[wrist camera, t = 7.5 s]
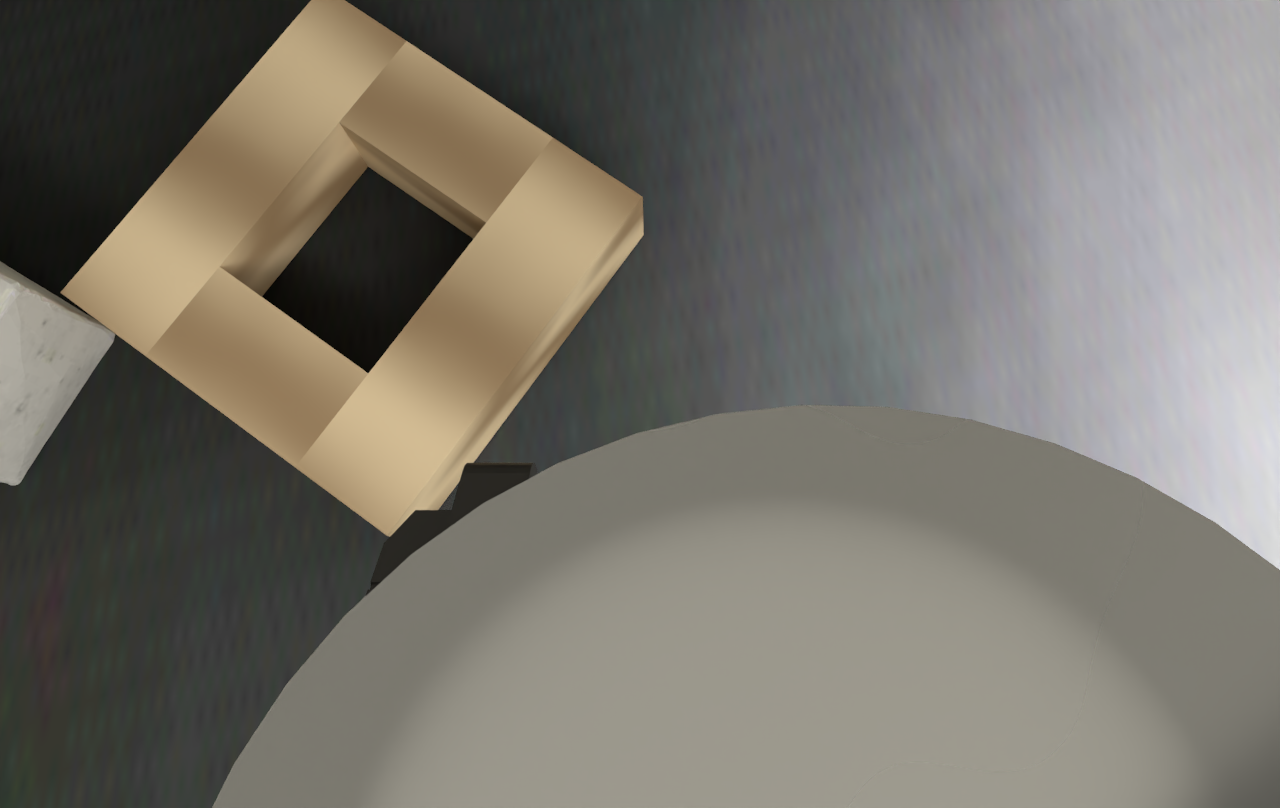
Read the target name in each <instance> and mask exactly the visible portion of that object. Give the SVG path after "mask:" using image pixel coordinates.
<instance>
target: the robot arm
mask: <svg viewBox="0 0 1280 808" xmlns="http://www.w3.org/2000/svg"><path fill="white" fill-rule="evenodd" d="M537 474H538V473H537V468H536V465H535V463H466V464H465V466H464V468H463V471H462V475H461V478H460V482H459V486H458V489H457V493H456V496H455V500H454V504H453V507H452V510H415V511H414V512H413V513H412V514H411V515H410V516H409V517H408V518H407V519H406V521H405V522H404V523H403V524H402V525H401V526H400V527H399V528H398V529H397V530H396V531H395V532H394V533H393V534H392V535H391V536H390V537H389V539H388V540H387V541H386V542H385V543H384V545H383V548H382V551H381V553H380V556H379V559H378V562H377V565H376V568H375V571H374V573H373V576H372V579H371V588H370V590H368V591H367V594H366V596H367V595H368V594H369V593H370V592H371V591H372V590H373V589H374V588H375V587H376V586H377V585H379V584H380V583H381V582H382V581H383V580H384V579H385V578H386V577H387V576H388V575H389V574H390V573H392V572H393V571H394V570H395V569H396V568H397V567H398V566H399V565H400V564H401V563H402V562H404V561H405V560H406V559H407V558H408V557H409V556H410V555H411V554H412V553H414V552H415V551H417V550H418V549H419V548H421V547H422V546H424V545H425V544H427V543H428V542H429V541H431V540H432V539H434V538H435V537H436V536H438V535H439V534H441V533H442V532H443V531H445V530H446V529H448V528H449V527H450V526H452V525H453V524H455V523H456V522H457V521H459V520H460V519H462V518H463V517H464V516H466V515H467V514H469V513H470V512H471V511H473V510H474V509H476V508H477V507H479V506H480V505H481V504H483V503H485V502H487V501H488V500H490V499H492V498H494V497H496V496H498V495H500V494H501V493H503V492H505V491H507V490H509V489H511V488H513V487H515V486H516V485H518V484H520V483H522V482H524V481H526V480H528V479H530V478H531V477H533V476H535V475H537Z"/></svg>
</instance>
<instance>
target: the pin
mask: <svg viewBox="0 0 1280 808" xmlns="http://www.w3.org/2000/svg"><path fill="white" fill-rule="evenodd" d="M212 808H1280V570H1279V569H1277V568H1276V567H1275V566H1273V565H1272V564H1271V563H1269V562H1268V561H1267V560H1265V559H1264V558H1262V557H1261V556H1260V555H1258V554H1257V553H1256V552H1254V551H1253V550H1252V549H1250V548H1249V547H1248V546H1246V545H1245V544H1243V543H1242V542H1241V541H1239V540H1238V539H1237V538H1235V537H1234V536H1233V535H1231V534H1230V533H1229V532H1227V531H1226V530H1224V529H1223V528H1222V527H1220V526H1219V525H1218V524H1216V523H1215V522H1213V521H1211V520H1210V519H1208V518H1206V517H1204V516H1203V515H1201V514H1199V513H1197V512H1196V511H1194V510H1192V509H1190V508H1189V507H1187V506H1185V505H1183V504H1182V503H1180V502H1178V501H1176V500H1175V499H1173V498H1171V497H1169V496H1167V495H1166V494H1164V493H1162V492H1160V491H1159V490H1157V489H1155V488H1153V487H1152V486H1150V485H1148V484H1146V483H1145V482H1143V481H1141V480H1139V479H1138V478H1136V477H1133V476H1131V475H1129V474H1126V473H1124V472H1121V471H1119V470H1117V469H1114V468H1112V467H1110V466H1107V465H1105V464H1102V463H1100V462H1098V461H1095V460H1093V459H1091V458H1088V457H1086V456H1083V455H1081V454H1079V453H1076V452H1074V451H1072V450H1069V449H1067V448H1064V447H1062V446H1060V445H1057V444H1055V443H1051V442H1048V441H1044V440H1041V439H1037V438H1034V437H1030V436H1027V435H1023V434H1020V433H1016V432H1012V431H1009V430H1005V429H1002V428H998V427H995V426H991V425H988V424H984V423H981V422H977V421H974V420H969V419H962V418H956V417H949V416H943V415H936V414H930V413H923V412H916V411H910V410H903V409H897V408H890V407H866V406H824V405H798V406H788V407H778V408H769V409H759V410H750V411H740V412H731V413H721V414H716V415H712V416H707V417H703V418H699V419H695V420H691V421H686V422H682V423H678V424H674V425H669V426H665V427H661V428H657V429H653V430H648V431H644V432H640V433H636V434H634V435H631V436H628V437H626V438H623V439H621V440H618V441H615V442H613V443H610V444H607V445H605V446H602V447H599V448H597V449H594V450H592V451H589V452H586V453H584V454H581V455H578V456H576V457H573V458H570V459H568V460H565V461H563V462H560V463H558V464H556V465H554V466H552V467H550V468H548V469H546V470H544V471H543V472H541V473H539V474H537V475H535V476H533V477H531V478H530V479H528V480H526V481H524V482H522V483H520V484H518V485H516V486H515V487H513V488H511V489H509V490H507V491H505V492H503V493H501V494H500V495H498V496H496V497H494V498H492V499H490V500H488V501H487V502H485V503H483V504H481V505H480V506H479V507H477V508H476V509H474V510H473V511H471V512H470V513H469V514H467V515H466V516H464V517H463V518H462V519H460V520H459V521H457V522H456V523H455V524H453V525H452V526H450V527H449V528H448V529H446V530H445V531H443V532H442V533H441V534H439V535H438V536H436V537H435V538H434V539H432V540H431V541H429V542H428V543H427V544H425V545H424V546H422V547H421V548H419V549H418V550H417V551H415V552H414V553H412V554H411V555H410V556H409V557H408V558H407V559H406V560H405V561H404V562H402V563H401V564H400V565H399V566H398V567H397V568H396V569H395V570H394V571H393V572H392V573H390V574H389V575H388V576H387V577H386V578H385V579H384V580H383V581H382V582H381V583H380V584H379V585H377V586H376V587H375V588H374V589H373V590H372V591H371V592H370V593H369V594H368V595H367V596H365V597H364V598H363V599H362V600H361V601H360V602H359V603H358V604H357V605H356V606H355V607H354V608H352V609H351V610H350V611H349V612H348V613H347V614H346V615H345V616H344V617H343V618H342V620H341V621H340V622H339V623H338V624H337V626H336V627H335V628H334V629H333V630H332V631H331V633H330V634H329V635H328V636H327V637H326V639H325V640H324V641H323V642H322V643H321V644H320V646H319V647H318V648H317V649H316V650H315V651H314V653H313V654H312V655H311V656H310V657H309V659H308V660H307V661H306V662H305V663H304V664H303V666H302V667H301V668H300V669H299V670H298V671H297V673H296V674H295V675H294V676H293V677H292V679H291V680H290V681H289V682H288V683H287V684H286V686H285V687H284V689H283V690H282V692H281V693H280V695H279V697H278V698H277V700H276V701H275V703H274V704H273V706H272V707H271V709H270V710H269V712H268V713H267V715H266V716H265V718H264V719H263V721H262V722H261V724H260V725H259V727H258V728H257V730H256V731H255V733H254V734H253V736H252V737H251V739H250V741H249V742H248V744H247V745H246V747H245V748H244V750H243V751H242V753H241V754H240V756H239V757H238V759H237V760H236V762H235V763H234V765H233V767H232V769H231V771H230V773H229V775H228V777H227V779H226V781H225V783H224V785H223V787H222V789H221V791H220V793H219V795H218V797H217V799H216V801H215V803H214V805H213V807H212Z"/></svg>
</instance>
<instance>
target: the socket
mask: <svg viewBox="0 0 1280 808" xmlns="http://www.w3.org/2000/svg"><path fill="white" fill-rule="evenodd" d="M367 167H369V168H371V169H372V170H374V171H375V172H377V173H378V174H380V175H381V176H383V177H384V178H385V179H387V180H388V181H390V182H391V183H393V184H394V185H396V186H397V187H399V188H400V189H402V190H403V191H404V192H406V193H407V194H409V195H410V196H412V197H413V198H415V199H416V200H418V201H419V202H420V203H422V204H423V205H425V206H426V207H428V208H429V209H431V210H432V211H434V212H435V213H437V214H438V215H439V216H441V217H442V218H444V219H445V220H447V221H448V222H450V223H451V224H453V225H454V226H456V227H457V228H458V229H460V230H461V231H463V232H464V233H466V234H467V235H469V236H470V237H472V238H473V240H472V242H471V243H470V244H469V245H468V247H467V248H466V249H465V251H464V252H463V253H462V254H461V256H460V257H459V258H458V260H457V261H456V262H455V263H454V265H453V266H452V267H451V268H450V270H449V271H448V272H447V274H446V275H445V276H444V277H443V279H442V280H441V281H440V283H439V284H438V285H437V286H436V288H435V289H434V290H433V291H432V293H431V294H430V295H429V297H428V298H427V299H426V300H425V302H424V303H423V304H422V306H421V307H420V308H419V309H418V311H417V312H416V313H415V315H414V316H413V317H412V318H411V320H410V321H409V322H408V323H407V325H406V326H405V327H404V329H403V330H402V331H401V332H400V334H399V335H398V336H397V338H396V339H395V340H394V341H393V343H392V344H391V345H390V346H389V348H388V349H387V350H386V352H385V353H384V354H383V355H382V357H381V358H380V359H379V361H378V362H377V363H376V364H375V366H374V367H373V368H372V369H371V371H370V372H369V373H367V372H366V371H364V370H363V369H361V368H360V367H359V366H357V365H356V364H354V363H353V362H352V361H350V360H349V359H348V358H346V357H345V356H343V355H342V354H341V353H339V352H338V351H336V350H335V349H334V348H332V347H331V346H329V345H328V344H327V343H325V342H324V341H322V340H321V339H320V338H318V337H317V336H316V335H314V334H313V333H311V332H310V331H309V330H307V329H306V328H304V327H303V326H302V325H300V324H299V323H297V322H296V321H295V320H293V319H292V318H291V317H289V316H288V315H286V314H285V313H284V312H282V311H281V310H279V309H278V308H277V307H275V306H274V305H272V304H271V303H270V302H268V301H267V300H265V299H264V298H263V297H262V296H263V295H264V294H265V292H266V291H267V290H268V289H269V287H270V286H271V285H272V284H273V283H274V281H275V280H276V279H277V278H278V276H279V275H280V274H281V273H282V272H283V270H284V269H285V268H286V267H287V265H288V264H289V263H290V262H291V261H292V259H293V258H294V257H295V256H296V254H297V253H298V252H299V251H300V249H301V248H302V247H303V246H304V245H305V243H306V242H307V241H308V240H309V238H310V237H311V236H312V235H313V234H314V232H315V231H316V230H317V229H318V227H319V226H320V225H321V224H322V223H323V221H324V220H325V219H326V218H327V216H328V215H329V214H330V213H331V211H332V210H333V209H334V208H335V207H336V205H337V204H338V203H339V202H340V200H341V199H342V198H343V197H344V196H345V194H346V193H347V192H348V191H349V189H350V188H351V187H352V186H353V185H354V183H355V182H356V181H357V180H358V178H359V177H360V176H361V175H362V174H363V172H364V171H365V170H366V169H367ZM643 235H644V233H643V197H642V196H640V195H639V194H637V193H636V192H634V191H633V190H631V189H630V188H628V187H627V186H625V185H624V184H622V183H621V182H619V181H618V180H616V179H615V178H613V177H612V176H610V175H609V174H607V173H606V172H604V171H603V170H601V169H600V168H598V167H597V166H595V165H593V164H592V163H590V162H589V161H587V160H586V159H584V158H583V157H581V156H580V155H578V154H577V153H575V152H574V151H572V150H571V149H569V148H568V147H566V146H565V145H563V144H562V143H560V142H559V141H557V140H556V139H554V138H553V137H551V136H550V135H548V134H547V133H545V132H543V131H542V130H540V129H539V128H537V127H536V126H534V125H533V124H531V123H530V122H528V121H527V120H525V119H524V118H522V117H521V116H519V115H518V114H516V113H515V112H513V111H512V110H510V109H509V108H507V107H506V106H504V105H503V104H501V103H500V102H498V101H497V100H495V99H493V98H492V97H490V96H489V95H487V94H486V93H484V92H483V91H481V90H480V89H478V88H477V87H475V86H474V85H472V84H471V83H469V82H468V81H466V80H465V79H463V78H462V77H460V76H459V75H457V74H456V73H454V72H453V71H451V70H450V69H448V68H447V67H445V66H444V65H442V64H440V63H439V62H437V61H436V60H434V59H433V58H431V57H430V56H428V55H427V54H425V53H424V52H422V51H421V50H419V49H418V48H416V47H415V46H413V45H412V44H410V43H409V42H407V41H406V40H404V39H403V38H401V37H400V36H398V35H397V34H395V33H394V32H392V31H390V30H389V29H387V28H386V27H384V26H383V25H381V24H380V23H378V22H377V21H375V20H374V19H372V18H371V17H369V16H368V15H366V14H365V13H363V12H362V11H360V10H359V9H357V8H356V7H354V6H353V5H351V4H350V3H348V2H347V1H345V0H311V1H310V2H309V3H308V4H307V6H306V7H305V8H304V9H303V10H302V11H301V13H300V14H299V15H298V16H297V17H296V18H295V20H294V21H293V22H292V23H291V24H290V25H289V27H288V28H287V29H286V30H285V31H284V32H283V34H282V35H281V36H280V37H279V38H278V39H277V41H276V42H275V43H274V44H273V45H272V46H271V48H270V49H269V50H268V51H267V52H266V53H265V55H264V56H263V57H262V58H261V59H260V60H259V62H258V63H257V64H256V65H255V66H254V67H253V69H252V70H251V71H250V72H249V73H248V74H247V76H246V77H245V78H244V79H243V80H242V81H241V83H240V84H239V85H238V86H237V87H236V88H235V90H234V91H233V92H232V93H231V94H230V95H229V97H228V98H227V99H226V100H225V101H224V102H223V104H222V105H221V106H220V107H219V108H218V109H217V111H216V112H215V113H214V114H213V115H212V116H211V118H210V119H209V120H208V121H207V122H206V123H205V125H204V126H203V127H202V128H201V129H200V130H199V132H198V133H197V134H196V135H195V136H194V137H193V139H192V140H191V141H190V142H189V143H188V144H187V145H186V147H185V148H184V149H183V150H182V151H181V152H180V154H179V155H178V156H177V157H176V158H175V159H174V161H173V162H172V163H171V164H170V165H169V166H168V168H167V169H166V170H165V171H164V172H163V173H162V175H161V176H160V177H159V178H158V179H157V180H156V182H155V183H154V184H153V185H152V186H151V187H150V189H149V190H148V191H147V192H146V193H145V194H144V196H143V197H142V198H141V199H140V200H139V201H138V203H137V204H136V205H135V206H134V207H133V208H132V210H131V211H130V212H129V213H128V214H127V215H126V217H125V218H124V219H123V220H122V221H121V222H120V224H119V225H118V226H117V227H116V228H115V229H114V231H113V232H112V233H111V234H110V235H109V236H108V238H107V239H106V240H105V241H104V242H103V243H102V245H101V246H100V247H99V248H98V249H97V250H96V252H95V253H94V254H93V255H92V256H91V257H90V259H89V260H88V261H87V262H86V263H85V264H84V266H83V267H82V268H81V269H80V270H79V271H78V273H77V274H76V275H75V276H74V277H73V278H72V280H71V281H70V282H69V283H68V284H67V285H66V287H65V288H64V289H63V290H62V291H61V292H60V293H62V294H63V295H64V296H66V297H67V298H68V299H70V300H71V301H72V302H74V303H75V304H76V305H78V306H79V307H80V308H82V309H83V310H84V311H86V312H87V313H88V314H90V315H91V316H92V317H94V318H95V319H97V320H98V321H99V322H101V323H102V324H103V325H105V326H106V327H107V328H109V329H110V330H111V331H113V332H114V333H115V334H117V335H118V336H119V337H121V338H122V339H123V340H125V341H126V342H127V343H129V344H130V345H131V346H133V347H134V348H136V349H137V350H138V351H140V352H141V353H142V354H144V355H145V356H146V357H148V358H149V359H150V360H152V361H153V362H154V363H156V364H157V365H158V366H160V367H161V368H162V369H164V370H165V371H166V372H168V373H169V374H170V375H172V376H173V377H174V378H176V379H177V380H179V381H180V382H181V383H183V384H184V385H185V386H187V387H188V388H189V389H191V390H192V391H193V392H195V393H196V394H197V395H199V396H200V397H201V398H203V399H204V400H205V401H207V402H208V403H209V404H211V405H212V406H213V407H215V408H216V409H218V410H219V411H220V412H222V413H223V414H224V415H226V416H227V417H228V418H230V419H231V420H232V421H234V422H235V423H236V424H238V425H239V426H240V427H242V428H243V429H244V430H246V431H247V432H248V433H250V434H251V435H252V436H254V437H255V438H256V439H258V440H259V441H261V442H262V443H263V444H265V445H266V446H267V447H269V448H270V449H271V450H273V451H274V452H275V453H277V454H278V455H279V456H281V457H282V458H283V459H285V460H286V461H287V462H289V463H290V464H291V465H293V466H294V467H295V468H297V469H298V470H300V471H301V472H302V473H304V474H305V475H306V476H308V477H309V478H310V479H312V480H313V481H314V482H316V483H317V484H318V485H320V486H321V487H322V488H324V489H325V490H326V491H328V492H329V493H330V494H332V495H333V496H334V497H336V498H337V499H338V500H340V501H341V502H343V503H344V504H345V505H347V506H348V507H349V508H351V509H352V510H353V511H355V512H356V513H357V514H359V515H360V516H361V517H363V518H364V519H365V520H367V521H368V522H369V523H371V524H372V525H373V526H375V527H376V528H377V529H379V530H380V531H382V532H383V533H384V534H386V535H387V536H391V535H392V534H393V533H394V532H395V531H396V530H397V529H398V528H399V527H400V526H401V525H402V524H403V523H404V522H405V521H406V519H407V518H408V517H409V516H410V515H411V514H412V513H413V512H414V511H415V510H438V509H439V508H440V507H441V505H442V504H443V503H444V501H445V500H446V499H447V497H448V496H449V495H450V493H451V492H452V491H453V489H454V488H455V487H456V485H457V484H458V483H459V481H460V478H461V475H462V471H463V468H464V466H465V464H466V463H474V461H475V460H476V459H477V457H478V456H479V455H480V453H481V452H482V450H483V449H484V448H485V446H486V445H487V444H488V442H489V441H490V440H491V438H492V437H493V436H494V434H495V433H496V432H497V430H498V429H499V428H500V426H501V425H502V424H503V422H504V421H505V420H506V418H507V417H508V416H509V414H510V413H511V412H512V410H513V409H514V408H515V406H516V405H517V404H518V402H519V401H520V400H521V398H522V397H523V396H524V394H525V393H526V392H527V390H528V389H529V388H530V386H531V385H532V384H533V382H534V381H535V380H536V378H537V377H538V376H539V374H540V373H541V372H542V370H543V369H544V368H545V366H546V365H547V364H548V362H549V361H550V360H551V358H552V357H553V356H554V354H555V353H556V352H557V350H558V349H559V347H560V346H561V345H562V343H563V342H564V341H565V339H566V338H567V337H568V335H569V334H570V333H571V331H572V330H573V329H574V327H575V326H576V325H577V323H578V322H579V321H580V319H581V318H582V317H583V315H584V314H585V313H586V311H587V310H588V309H589V307H590V306H591V305H592V303H593V302H594V301H595V299H596V298H597V297H598V295H599V294H600V293H601V291H602V290H603V289H604V287H605V286H606V285H607V283H608V282H609V281H610V279H611V278H612V277H613V275H614V274H615V273H616V271H617V270H618V269H619V267H620V266H621V265H622V263H623V262H624V261H625V259H626V258H627V257H628V255H629V254H630V253H631V251H632V250H633V249H634V247H635V246H636V244H637V243H638V242H639V240H640V239H641V238H642V236H643Z"/></svg>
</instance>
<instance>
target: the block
mask: <svg viewBox="0 0 1280 808" xmlns="http://www.w3.org/2000/svg"><path fill="white" fill-rule="evenodd" d="M114 337H115V333H114V332H113V331H111V330H110V329H109V328H107V327H106V326H105V325H103V324H102V323H100V322H99V321H97V320H95V319H94V318H92V317H90V316H89V315H87V314H86V313H84V312H82V311H81V310H79V309H77V308H76V307H74V306H72V305H71V304H69V303H68V302H66V301H64V300H63V299H61V298H59V297H58V296H56V295H54V294H53V293H51V292H49V291H48V290H46V289H44V288H43V287H41V286H39V285H38V284H36V283H34V282H33V281H31V280H29V279H28V278H26V277H24V276H23V275H21V274H20V273H18V272H17V271H15V270H13V269H12V268H10V267H9V266H7V265H5V264H4V263H2V262H1V261H0V482H3V483H8V484H9V485H17V484H19V483H20V482H21V481H22V479H23V477H24V476H25V474H26V472H27V471H28V469H29V468H30V466H31V465H32V463H33V462H34V460H35V459H36V457H37V455H38V454H39V452H40V451H41V449H42V448H43V446H44V444H45V443H46V441H47V440H48V439H49V437H50V436H51V434H52V433H53V431H54V429H55V428H56V426H57V425H58V423H59V422H60V420H61V419H62V417H63V416H64V414H65V413H66V411H67V410H68V408H69V407H70V405H71V404H72V402H73V401H74V399H75V398H76V396H77V395H78V393H79V392H80V390H81V389H82V387H83V386H84V384H85V383H86V381H87V380H88V378H89V377H90V375H91V373H92V372H93V370H94V369H95V367H96V366H97V364H98V363H99V362H100V360H101V359H102V357H103V356H104V354H105V353H106V352H107V350H108V349H109V347H110V346H111V344H112V343H113V341H114Z"/></svg>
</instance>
